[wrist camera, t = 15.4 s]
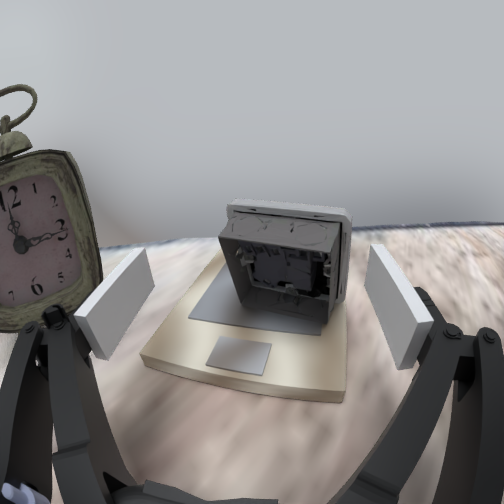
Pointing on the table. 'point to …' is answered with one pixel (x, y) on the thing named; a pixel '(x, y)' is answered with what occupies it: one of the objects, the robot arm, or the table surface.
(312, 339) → the mounting board
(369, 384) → the table surface
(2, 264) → the tabletop clock
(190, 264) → the table surface
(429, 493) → the table surface
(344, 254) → the electrical switch
